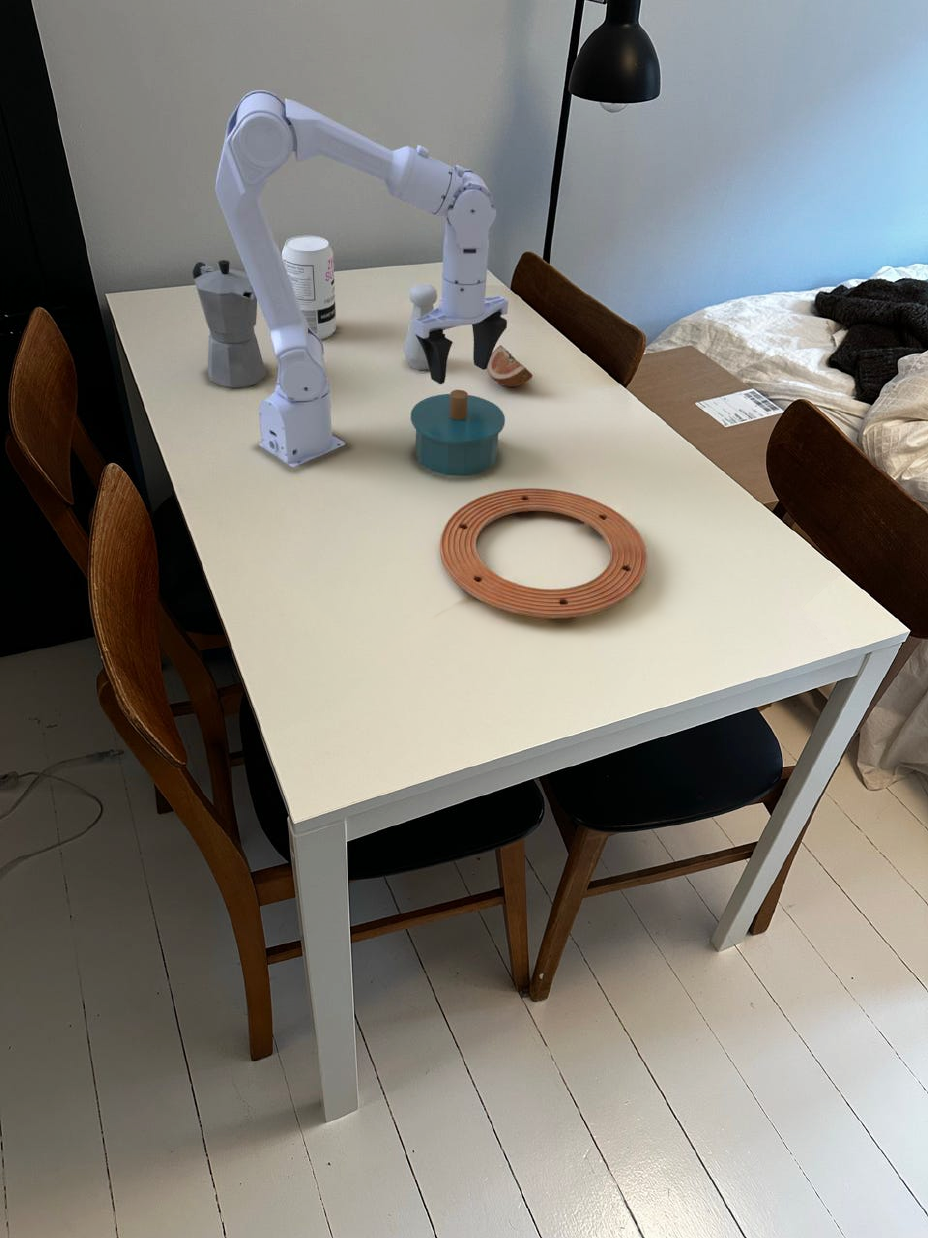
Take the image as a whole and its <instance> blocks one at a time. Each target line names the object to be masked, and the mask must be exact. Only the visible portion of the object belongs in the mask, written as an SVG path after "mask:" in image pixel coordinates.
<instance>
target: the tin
mask: <svg viewBox="0 0 928 1238" xmlns="http://www.w3.org/2000/svg"><path fill="white" fill-rule="evenodd" d="M498 445H499V434H498V435H496V436H494V437H493V438H491V439H488V440H485V441H482V442H477V443H470V444H453V443H446V442H441V441H437V440H434V439H431V438H429V437H426V436H425V435H423V434H421V433H420V432H418V431H417V430H416V429H415V453H414V454H415V458H416V459H417V460H418V462H419V464H420V465H422V467H425V468H426V469H428V470H429V471H431V472H434V473H438V474H441V475H444V476H454V477H455V476H457V477H466V476H471V475H477V474H480V473H482V472H484V471H486V470H489V469H490V468H491V467H492V466H493V465H494V463H495V462H496V461H497V455H498Z"/></svg>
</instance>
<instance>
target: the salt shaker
mask: <svg viewBox="0 0 928 1238" xmlns="http://www.w3.org/2000/svg"><path fill="white" fill-rule="evenodd" d="M408 293H409V295H408V296H409V301H410V303H411V304H412V310H411V314H410V319H409V324H408V328H407V333H406V338H405V342H404V347H403V353H404V356H405V358H406V361H407V363H408V365H409V368H412V369H415V370H418V371H426V370H429V365H428V362H427V358H426V355H425V353H424V350H423V348H422V346H421V344H420V342H419V340H418V338H417V337H416V335H415V333H414V321H415V319H418V318H420V317H423V316H425V315H426V314H428V313H429V312H431V311H433V310H434V309H435V308H434V304H436V302H437V299H438V291H437V289H436V288H435V287H434V286H433V285H431V284H428V283H417V284H414V285H413V286H412V287H410V289H409V292H408Z"/></svg>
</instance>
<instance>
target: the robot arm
mask: <svg viewBox="0 0 928 1238" xmlns="http://www.w3.org/2000/svg"><path fill="white" fill-rule="evenodd" d="M284 99H285V100H284V101H283V99H282V98H281V97H279V96H278V95H277V94H275V93H274V92H271V91H269V90H264V89H260V90H259V89H256V90H252V91H250V92H248V93H247V94H245V95H244V96H243V97H242V98H241V99H240V101H239V102H238V104H237V105H236V107H235V109H234V110H233V112H232V113H231V115H230V117H229V118H228V120H227V125H226V131H225V136H224V141H223V145H222V150H221V155H220V160H219V164H218V169H217V173H216V179H215V186H214V189H215V190H214V191H215V195H216V198H217V201H218V204H219V206H220V208H221V209H220V210H221V212H222V214H223V216H224V219H225V221H226V224H227V226H228V229H229V231H230V235H231V237H232V240H233V242H234V245H235V247H236V250H237V252H238V254H239V257H240V259H241V262H242V265H243V267H244V271H245V272H247V275H248V278H249V280H250V283H251V285H252V288H253V290H254V293H255V295H256V298H257V304H258V305H259V309H260V310H261V313H262V316H263V318H264V321H265V322H266V323H265V324H266V325H267V329H268V332H269V335H270V338H271V343H272V348H273V352H274V356H275V358H276V360H277V364H278V370H277V380H276V382H275V390H274V392H272V393H271V395H270V396H268V397H266V398H265V399H264V400H262V401H261V402H260V404H259V406H258V415H259V426H260V436H261V442H260V443H259V446H260V447H262V448H263V449H264V450H266V451H267V452H269V453H270V454H272V455H273V456H274V457H276V458H278V459H280V460H281V461H282V462H284V463H285V464H287V465H288V466H290V467H293V468H294V467H298V466H299V465H300V466H301V465H302V464H305V463H306V462H309V461H311V460H313V459H316V458H318V457H320V456H323V455H325V454H328V453H329V452H332V451H335V450H336V449H338V448H340V447H343V446H345V445H346V442H344V441H343V440H341V439H339V438H338V437H336V436H334V435H333V432H332V431H333V430H332V429H333V428H332V411H331V410H332V409H331V388H330V387H331V385H330V381H329V380H328V376H327V371H326V368H325V359H324V354H325V352H324V344H323V341H322V339H320V338H319V337H318V335H317V334H316V333H314V332H313V331H312V330H311V328H310V327H309V325H308V323H307V320H306V317H305V316H304V314H303V313H302V311H301V309H300V306H299V303H298V301H297V298H296V295H295V292H294V290H293V287H292V284H291V281H290V279H289V276H288V273H287V270H286V268H285V265H284V262H283V259H282V253H281V251H280V249H279V245H278V242H277V240H276V238H275V235H274V232H273V229H272V226H271V224H270V221H269V218H268V215H267V212H266V209H265V207H264V204H263V201H262V198H261V196H260V195H261V193H262V191H263V189H264V188H265V186H266V184H267V183H268V180H269V178H270V177H272V176H273V175H274V174H275V173H277V172H279V170H280V169H281V168H283V166H284V165H286V164H287V162H288V161H289V159H290V157H291V155H292V152H295V153H294V155H295V162H296V163H301V162H304V161H307V160H310V159H313V158H315V157H317V156H323V157H326V158H328V159H331V160H332V161H337V162H338V163H340V164H343V165H346V166H349V167H351V168H353V169H356V170H358V171H361V172H363V173H365V174H369V175H371V176H373V177H376V178H378V179H381V180H383V181H384V183H385V186H386V189H387V192H388V194H389V195H390V196H392V197H394V198H396V199H398V200H400V201H403V202H405V203H407V204H409V205H412V206H414V207H416V208H419V209H420V210H423V211H425V212H427V213H429V214H432V215H434V216H436V217H445V225H444V226H445V227H444V228H445V230H444V231H445V232H444V237H443V243H442V244H443V246H442V247H443V248H442V250H443V251H442V273H441V274H442V275H441V300H439V301H438V306H437V307H435V308H434V310H433V311H431V312H429V313H428V314H426V315H425V316H423V317H420V318H418V319H415V321H414V333H415V335H416V337H417V338H418V340H419V342H420V344H421V346H422V348H423V350H424V353H425V355H426V358H427V362H428V365H429V369H428V370H429V373H430V379H431V380H432V381H433V382H435V383H436V384H438V385H443V384H445V382H446V375H447V366H448V365H447V364H448V357H449V354H450V351H451V348H452V346H453V343H454V342H453V341H452V340H451V339H449V338H447V337H446V334H445V333H444V331H445V330H449V329H452V328H455V327H459V326H471V327H472V333H473V335H472V336H473V348H472V349H473V350H472V354H473V355H472V359H473V365H474V366H475V367H477V368H479V369H480V370H482V371H485V370H487V366H488V363H489V360H490V358H491V355H492V353H493V352H494V351H495V347H496V345H497V343H498V341H499V340H500V338H501V336H502V335H503V333H504V332H505V330H506V329H507V327H508V320H507V319H506V318H504V317H502V316H504V315H507V314H508V310H509V299H506V298H505V297H503V296H501V295H495V296H489V297H486V290H487V277H488V262H489V249H490V248H489V246H490V241H489V234H490V228H491V226H492V225H493V224H494V222H495V219H496V216H497V209H496V208H495V207H496V206H495V200H494V197H493V195H492V193H491V191H490V189H489V188H488V187H487V185H486V183H485V181H484V180H483V179H482V178H481V177H480V175H478V174H476V173H475V172H474V171H473V169H470V168H464V167H463V166H461V165H459V164H456V165H455V167H453V166H451V165H449V164H447V163H445V162H443V161H440V160H438V159H436V158H434V157H432V156H430V151H429V149H428V148H427V147H425V146H422V145H420V144H418V145H417V146H416V149H415V148H414V147H411V146H409V145H405V146H402V147H401V148H398V149H394V150H391V149H389V148H387V147H385V146H383V145H381V144H379V143H378V142H375V141H373V140H371V139H370V138H368V137H366V136H364V135H362V134H361V133H358V132H357V131H354V130H352V129H350V128H349V127H347V126H345V125H343V124H342V123H339V122H338V121H335V120H334V119H331V118H330V117H328V116H327V115H324V114H322V113H320V112H318V111H316V110H315V109H313V108H310V107H308V106H306V105H304V104H302V103H300V102H298V101H296V100H293V99H289V98H284Z"/></svg>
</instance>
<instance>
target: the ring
mask: <svg viewBox="0 0 928 1238" xmlns="http://www.w3.org/2000/svg"><path fill="white" fill-rule="evenodd" d="M532 511H533V512H534V511H535V512H549V513H556V514H561V515H564V516H568V517H571V518H574V519H576V520H578V521H580V522H583V523H585V524H586V525H588V526H589V527H591V528H592V529H594V531H595V532H596V533H598V534H599V535H600V536H601V537H602V538H603V539H604V541H605V543H606V545H607V547H608V551H609V561H608V564H607V566H606V567H605V569H604V570H603V571H602V572H601V573H600V574H599V575H598V576H596V577H595V578H593V579H592V580H589V581H588V582H585V583H582V584H579V585H575V586H572V587H566V588H552V589H551V588H549V589H548V588H537V587H531V586H526V585H522V584H519V583H517V582H513V581H510V580H508V579H506V578H504V577H502V576H500V575H499V574H497V573H496V572H494V571H493V570H491V569H490V568H489V567H488V566H487V565H486V564H485V563H484V561H483V560H482V559H481V557H480V555H479V551H478V550H477V540H478V537H479V535H480V534H481V532H482V531H483V530H484V529H485V527H487V526H488V525H489V524H491V523H492V522H494V521H495V520H498V519H499V518H502V517H504V516H507V515H510V514H516V513H529V512H532ZM439 554H440V559H441V562H442V565H443V567H444V569H445V571H446V573H447V574H448V576H449V577H450V578H451V579H452V580H453V582H454V583H455V584H456V585H457V586H458V587H460V588H461V589H462V590H463V591H465V592H466V593H467V594H468V595H470V596H472V597H473V598H475V599H477V600H479V601H481V602H482V603H485V604H487V605H488V606H491V607H494V608H496V609H500V610H501V611H502V610H503V611H505V612H508V613H513V614H516V615H522V616H526V617H532V618H533V617H534V618H541V619H558V620H565V619H569V618H577V617H584V616H589V615H594V614H596V613H601V612H604V611H606V610H608V609H610V608H612V607H615V606H616V605H618V604H620V603H621V602H623V601H625V600H626V599H627V598H628V597H629V596H631V595H632V594H633V593H634V592H635V590H636V589H637V588H638V587H639V585H640V583H641V582H642V581H643V578H644V575H645V573H646V570H647V566H648V565H647V564H648V552H647V547H646V545H645V542H644V539H643V537H642V536H641V534H640V533H639V530H638V529H636V527H635V526H634V525H633V524H632V523H631V522H630V521H629V520H628V519H627V518H626V517H625V516H623V515H622V514H621V513H619V512H618V511H616V510H615V509H613V508H612V507H610V506H608V505H607V504H604V503H603V502H600V501H597V500H595V499H592V498H590V497H588V496H584V495H582V494H581V495H580V494H577V493H573V492H569V491H563V490H559V489H552V488H539V487H538V488H537V487H525V488H524V487H523V488H512V489H505V490H499V491H495V492H491V493H488V494H484V495H482V496H479V497H477V498H475V499H473V500H471V501H469V502H467V503H465V504H464V505H463V506H461V507H460V508H459V509H457V510H456V511H455V512H454V513H453V514H452V515H451V517H449V519H448V520H447V521H446V523H445V525H444V528H443V529H442V532H441V535H440V539H439Z"/></svg>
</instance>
